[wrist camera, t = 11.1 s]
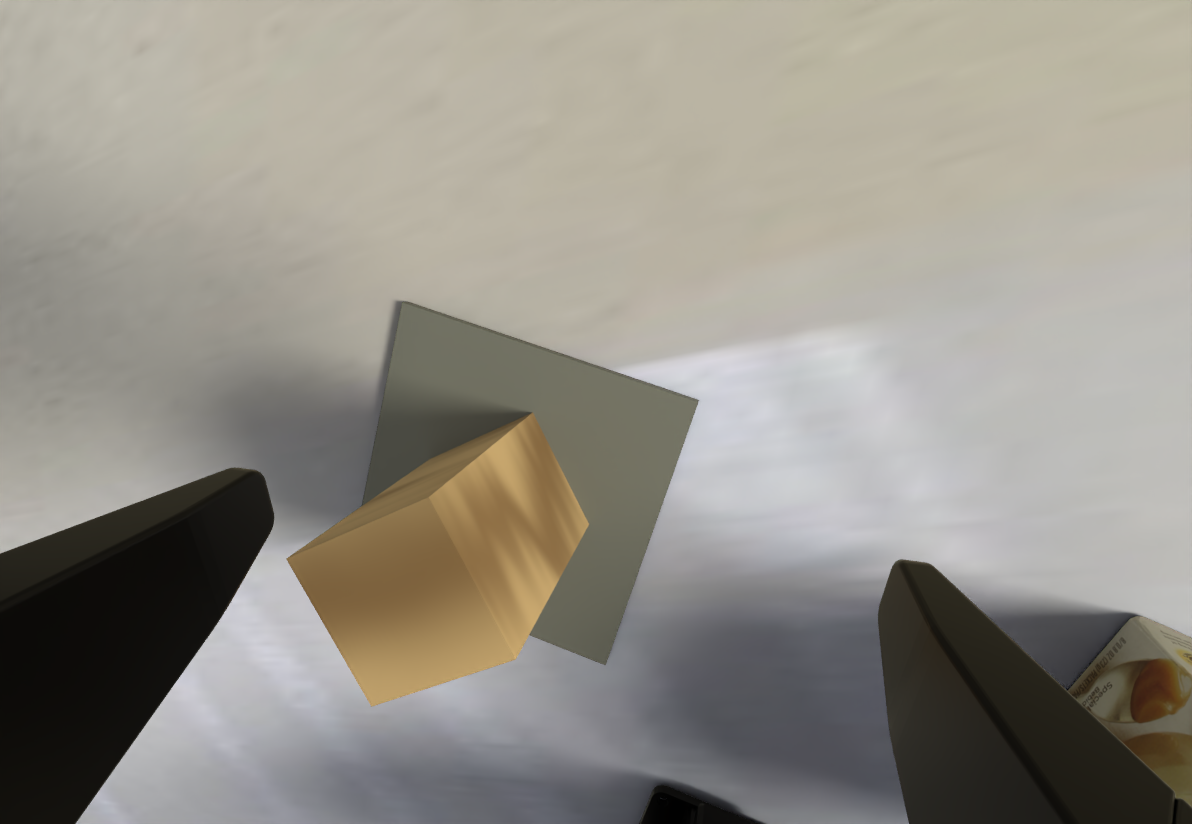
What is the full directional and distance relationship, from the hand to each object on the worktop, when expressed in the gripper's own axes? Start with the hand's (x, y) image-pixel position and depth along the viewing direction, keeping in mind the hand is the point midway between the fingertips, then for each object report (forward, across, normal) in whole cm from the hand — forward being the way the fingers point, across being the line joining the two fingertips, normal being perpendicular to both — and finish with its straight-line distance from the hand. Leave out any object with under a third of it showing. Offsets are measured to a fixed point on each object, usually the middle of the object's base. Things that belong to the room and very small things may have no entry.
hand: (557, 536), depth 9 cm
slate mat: (+14, +5, +10) cm, 18 cm away
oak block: (+14, +5, +10) cm, 18 cm away
